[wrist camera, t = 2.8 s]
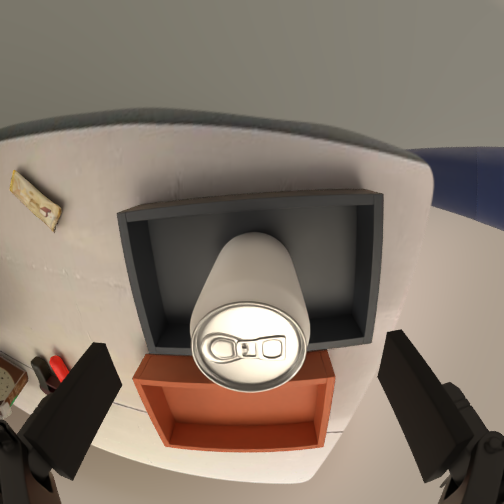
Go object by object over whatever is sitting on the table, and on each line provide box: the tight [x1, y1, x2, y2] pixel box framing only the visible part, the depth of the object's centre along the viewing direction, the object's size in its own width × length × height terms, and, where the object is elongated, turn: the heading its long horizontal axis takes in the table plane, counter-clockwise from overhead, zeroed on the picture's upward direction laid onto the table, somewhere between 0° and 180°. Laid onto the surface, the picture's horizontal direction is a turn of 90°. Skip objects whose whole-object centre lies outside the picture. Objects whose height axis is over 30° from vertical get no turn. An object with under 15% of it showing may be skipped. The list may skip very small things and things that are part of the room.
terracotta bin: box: [132, 350, 335, 452], centre depth 27 cm, size 20×13×4 cm, turn 94°
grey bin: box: [117, 189, 384, 355], centre depth 22 cm, size 20×13×4 cm, turn 94°
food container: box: [0, 355, 28, 419], centre depth 28 cm, size 12×6×10 cm, turn 81°
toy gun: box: [31, 355, 69, 395], centre depth 28 cm, size 10×12×5 cm
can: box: [190, 232, 310, 393], centre depth 19 cm, size 6×6×12 cm
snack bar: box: [10, 170, 62, 233], centre depth 23 cm, size 10×2×3 cm
